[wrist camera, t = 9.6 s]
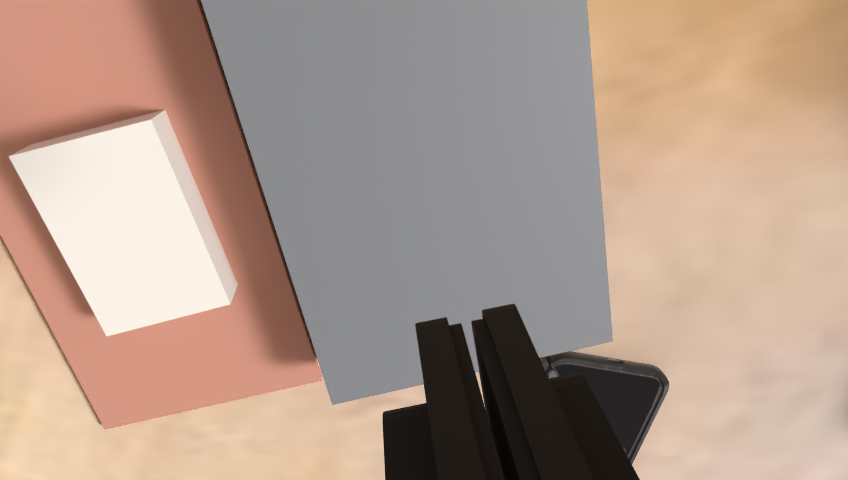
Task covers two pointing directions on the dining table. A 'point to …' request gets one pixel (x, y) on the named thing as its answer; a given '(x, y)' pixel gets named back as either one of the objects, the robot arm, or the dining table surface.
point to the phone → (617, 392)
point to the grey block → (423, 170)
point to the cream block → (129, 222)
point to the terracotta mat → (214, 176)
